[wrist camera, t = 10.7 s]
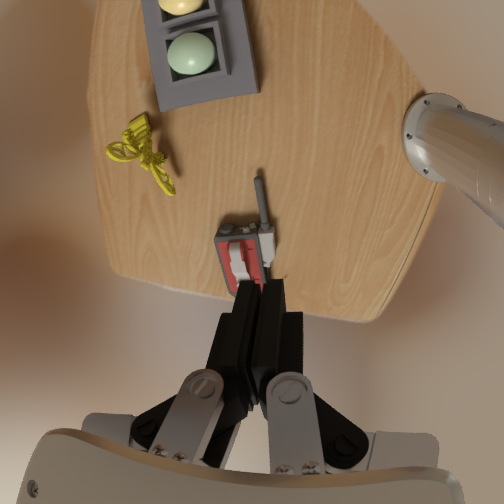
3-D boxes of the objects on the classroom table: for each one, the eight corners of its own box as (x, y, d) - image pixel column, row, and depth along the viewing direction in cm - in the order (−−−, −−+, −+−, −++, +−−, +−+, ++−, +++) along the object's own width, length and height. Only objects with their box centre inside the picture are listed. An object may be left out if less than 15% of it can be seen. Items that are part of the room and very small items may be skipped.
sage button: (214, 31, 23) (208, 27, 21) (221, 69, 25) (215, 68, 23) (173, 42, 24) (164, 40, 22) (179, 79, 26) (171, 79, 24)
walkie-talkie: (283, 288, 46) (266, 172, 36) (281, 306, 43) (263, 183, 32) (232, 290, 48) (204, 180, 38) (227, 308, 45) (194, 192, 34)
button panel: (228, -73, 15) (220, -88, 10) (260, 92, 30) (255, 93, 25) (146, -48, 17) (129, -58, 13) (169, 109, 32) (153, 114, 28)
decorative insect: (178, 140, 39) (179, 195, 36) (161, 149, 40) (161, 203, 37) (123, 92, 28) (111, 149, 25) (105, 105, 29) (92, 163, 26)
